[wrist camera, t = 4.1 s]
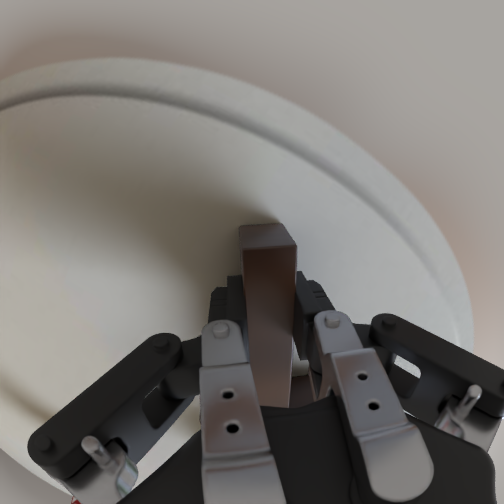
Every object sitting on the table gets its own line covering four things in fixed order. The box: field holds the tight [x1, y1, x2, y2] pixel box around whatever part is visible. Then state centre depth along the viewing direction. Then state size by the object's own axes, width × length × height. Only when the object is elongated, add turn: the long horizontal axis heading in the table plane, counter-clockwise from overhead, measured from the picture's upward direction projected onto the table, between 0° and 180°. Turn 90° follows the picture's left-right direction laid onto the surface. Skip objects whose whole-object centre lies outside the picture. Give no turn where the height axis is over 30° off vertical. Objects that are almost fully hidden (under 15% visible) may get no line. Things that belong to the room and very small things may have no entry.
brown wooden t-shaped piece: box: [199, 223, 314, 423], centre depth 13 cm, size 11×8×3 cm
